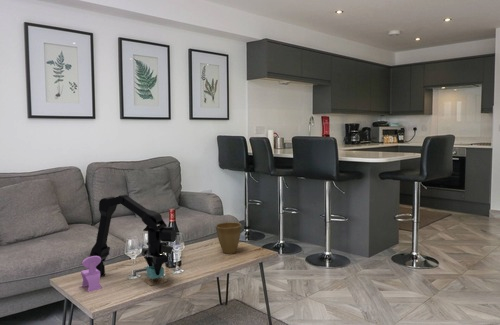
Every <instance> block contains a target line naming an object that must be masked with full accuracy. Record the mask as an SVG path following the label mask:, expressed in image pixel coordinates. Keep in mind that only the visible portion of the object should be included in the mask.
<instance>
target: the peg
mask: <svg viewBox="0 0 500 325" xmlns="http://www.w3.org/2000/svg"><path fill="white" fill-rule="evenodd" d="M143 282H144V283H146V284H147V285H149V286H150V287H153V286H158V285H162V284H165V283H168V280H166V279H165V278H163V277H159V278H154V279H151V278H147V279H143Z"/></svg>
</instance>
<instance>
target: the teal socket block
mask: <svg viewBox="0 0 500 325" xmlns="http://www.w3.org/2000/svg"><path fill="white" fill-rule="evenodd" d="M146 268H147V271H146V276H147V277H148V278H149V279H154V278H159V277H162V278H163V277H165V267H163V266H162V267H161V270H160V273H159V275H156V273H155V270H154V267H153V266H150V267H149V266H146Z"/></svg>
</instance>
